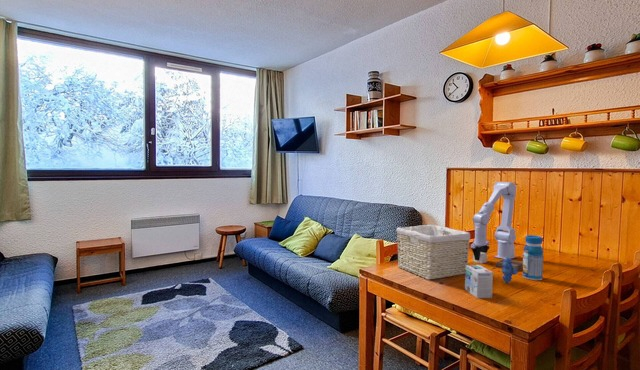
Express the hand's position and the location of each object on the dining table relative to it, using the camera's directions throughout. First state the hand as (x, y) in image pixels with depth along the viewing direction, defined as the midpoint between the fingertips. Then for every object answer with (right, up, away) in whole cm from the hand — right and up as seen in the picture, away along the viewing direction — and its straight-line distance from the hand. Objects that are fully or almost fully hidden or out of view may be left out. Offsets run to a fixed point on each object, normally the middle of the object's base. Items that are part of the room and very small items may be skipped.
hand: (479, 259), depth 196 cm
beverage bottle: (+13, -3, -27) cm, 30 cm away
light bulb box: (-22, -5, -47) cm, 53 cm away
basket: (-32, -3, -15) cm, 35 cm away
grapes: (-3, -4, -35) cm, 36 cm away
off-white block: (0, -1, 0) cm, 1 cm away
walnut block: (+12, -3, -10) cm, 16 cm away
